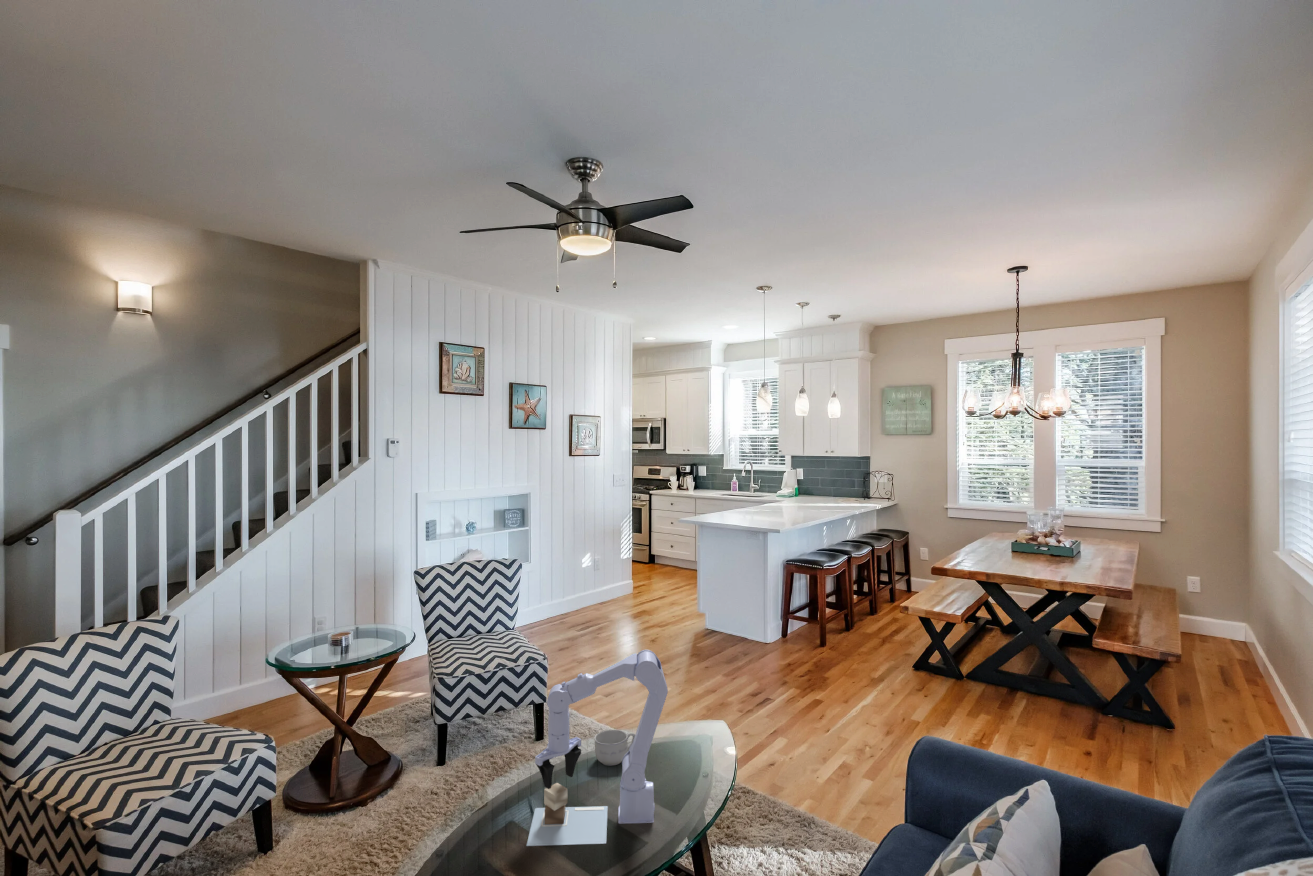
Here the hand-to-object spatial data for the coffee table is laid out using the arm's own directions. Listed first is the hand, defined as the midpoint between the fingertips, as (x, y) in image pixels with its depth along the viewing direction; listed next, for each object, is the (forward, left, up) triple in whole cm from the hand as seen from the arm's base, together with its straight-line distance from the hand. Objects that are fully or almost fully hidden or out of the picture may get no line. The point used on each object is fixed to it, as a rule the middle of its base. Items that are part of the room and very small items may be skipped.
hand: (558, 781), depth 168 cm
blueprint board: (-3, +4, -10) cm, 11 cm away
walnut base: (+1, +1, -9) cm, 9 cm away
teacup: (-15, -30, -10) cm, 35 cm away
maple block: (+1, +1, -5) cm, 6 cm away
